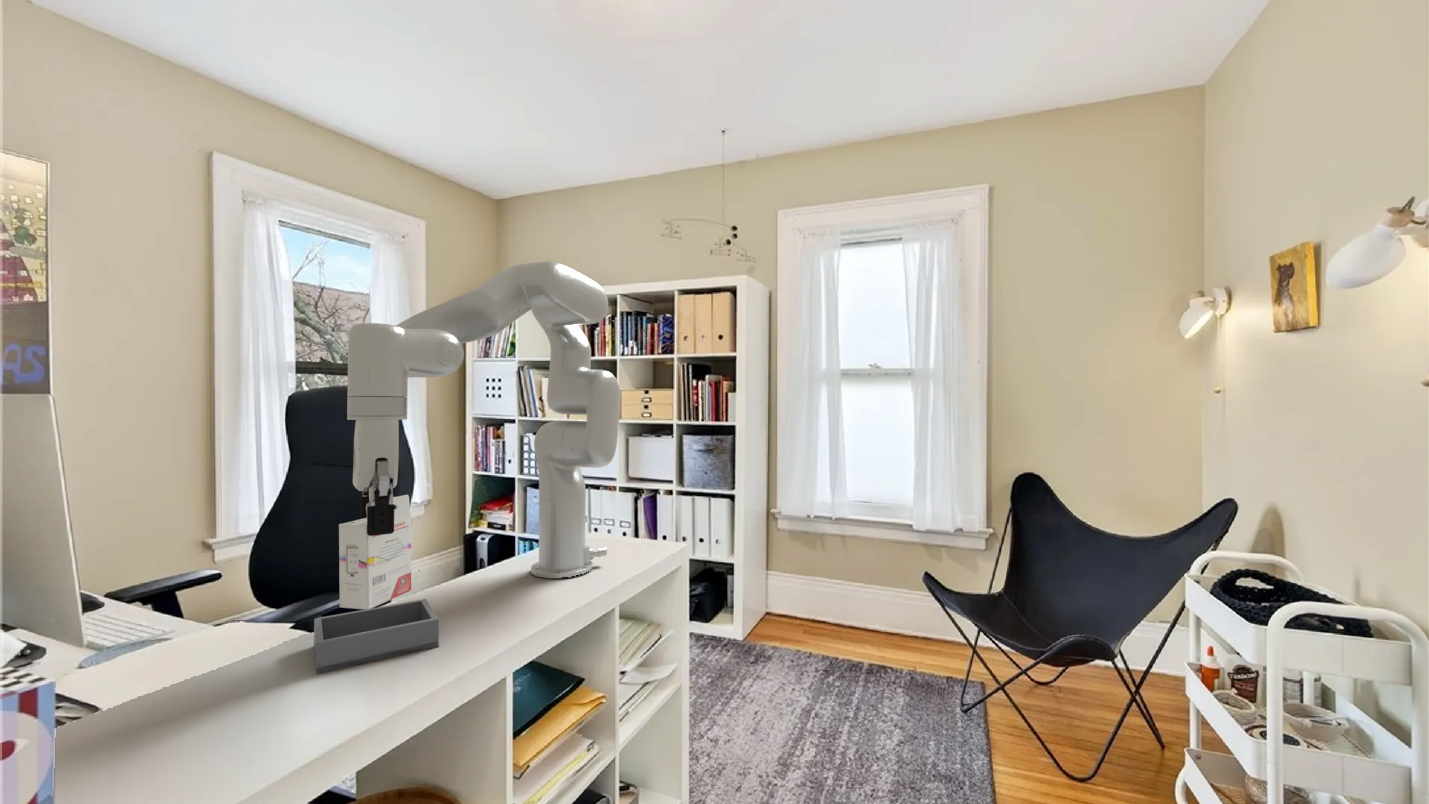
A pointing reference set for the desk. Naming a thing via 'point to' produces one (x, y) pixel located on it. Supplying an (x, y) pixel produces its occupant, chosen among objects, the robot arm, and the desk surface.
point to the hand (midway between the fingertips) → (376, 528)
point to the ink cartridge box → (375, 560)
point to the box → (374, 634)
